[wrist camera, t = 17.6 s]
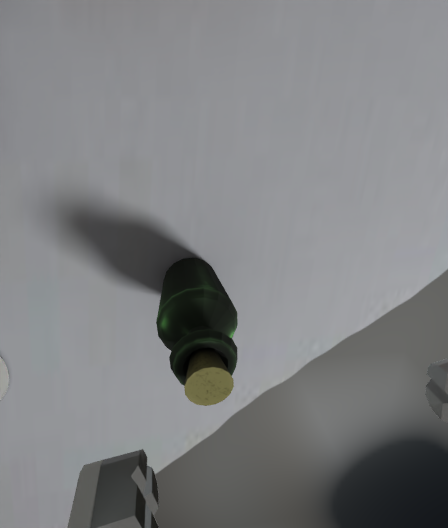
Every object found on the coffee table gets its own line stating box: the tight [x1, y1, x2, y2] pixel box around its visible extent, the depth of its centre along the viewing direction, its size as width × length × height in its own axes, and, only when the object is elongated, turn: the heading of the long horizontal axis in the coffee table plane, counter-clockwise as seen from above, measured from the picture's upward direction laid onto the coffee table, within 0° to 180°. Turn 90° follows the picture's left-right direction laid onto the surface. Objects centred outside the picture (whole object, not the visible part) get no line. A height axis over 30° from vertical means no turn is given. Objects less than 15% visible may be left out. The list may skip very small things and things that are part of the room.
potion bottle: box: [156, 258, 237, 406], centre depth 34 cm, size 8×8×18 cm
